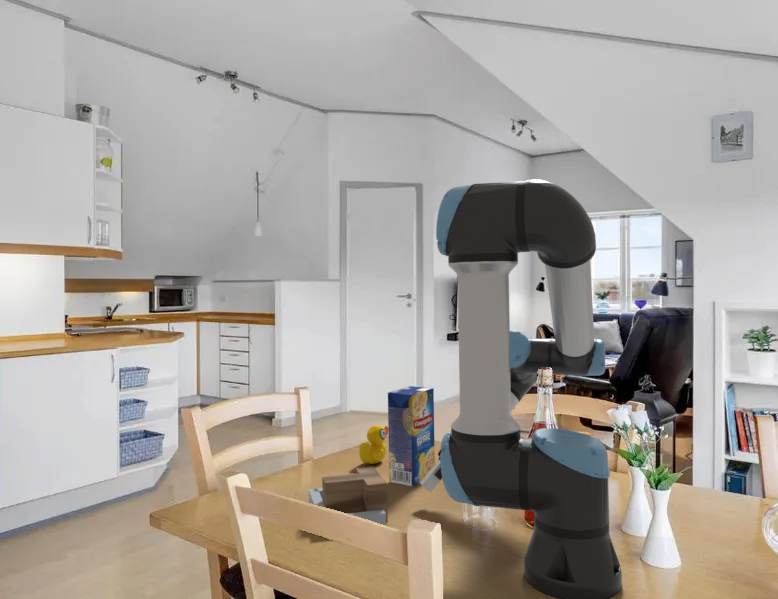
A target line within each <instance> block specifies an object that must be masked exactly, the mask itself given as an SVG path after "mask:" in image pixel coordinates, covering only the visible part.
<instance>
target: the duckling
mask: <svg viewBox="0 0 778 599" xmlns="http://www.w3.org/2000/svg"><path fill="white" fill-rule="evenodd" d="M387 436H389V430H388V426H387V425H385V426H384V427H383V426H381V425H378V424H374V425H372V426H370V427H369V428H368V430H367V433H366V438H367V440H368V441H363V442H361V443H360V446H359V447H358V448H359V452H358V454H359V458H360V460H361V461H362V462H363V463H364V464H367V465H368V464H369V465H374V464H377V463H380V462H382V461H383V459H384V458H385V456H386V454H387V445H386V444H385V443H384V441H385V440H386V437H387Z"/></svg>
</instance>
